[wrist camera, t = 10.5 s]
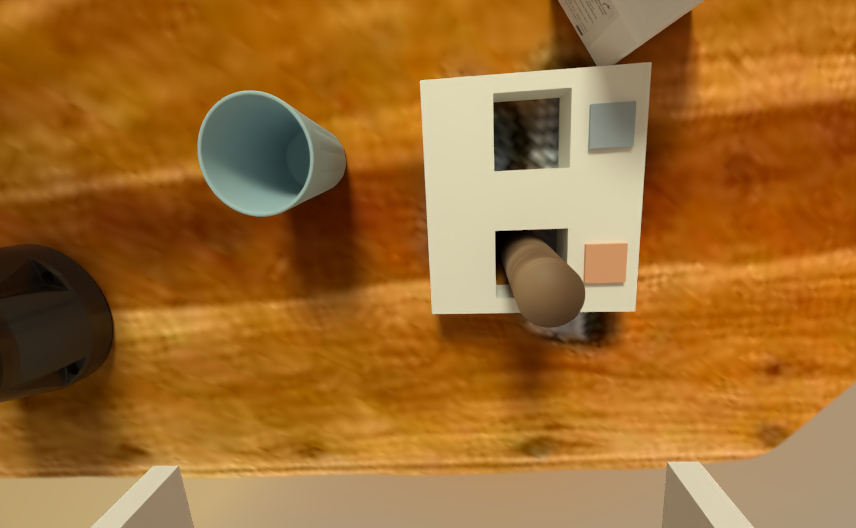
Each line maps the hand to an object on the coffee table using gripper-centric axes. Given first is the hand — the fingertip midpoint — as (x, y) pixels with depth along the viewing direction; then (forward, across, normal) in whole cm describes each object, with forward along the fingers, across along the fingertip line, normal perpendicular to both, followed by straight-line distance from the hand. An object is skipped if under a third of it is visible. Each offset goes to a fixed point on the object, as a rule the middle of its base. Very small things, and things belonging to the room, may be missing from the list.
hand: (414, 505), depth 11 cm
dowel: (+26, +7, +1) cm, 27 cm away
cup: (+27, -11, +10) cm, 31 cm away
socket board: (+26, +7, +6) cm, 28 cm away
